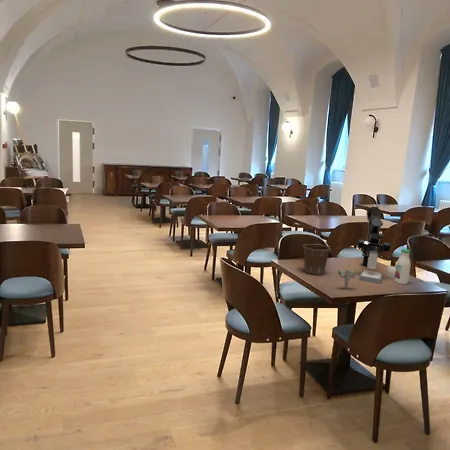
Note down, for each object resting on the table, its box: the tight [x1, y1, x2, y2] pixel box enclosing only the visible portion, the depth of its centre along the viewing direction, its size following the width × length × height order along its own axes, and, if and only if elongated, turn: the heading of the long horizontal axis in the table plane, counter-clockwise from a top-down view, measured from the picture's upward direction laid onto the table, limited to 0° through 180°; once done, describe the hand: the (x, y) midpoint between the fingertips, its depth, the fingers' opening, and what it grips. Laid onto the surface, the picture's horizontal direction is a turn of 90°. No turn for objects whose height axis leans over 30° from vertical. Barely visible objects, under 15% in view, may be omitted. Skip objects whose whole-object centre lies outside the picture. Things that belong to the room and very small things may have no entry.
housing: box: [366, 250, 379, 270], centre depth 262 cm, size 6×4×10 cm
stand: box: [358, 269, 384, 285], centre depth 264 cm, size 16×12×3 cm
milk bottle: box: [393, 248, 411, 285], centre depth 259 cm, size 8×8×20 cm
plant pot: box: [302, 243, 331, 276], centre depth 268 cm, size 16×16×16 cm
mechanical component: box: [337, 270, 358, 290], centre depth 240 cm, size 3×10×10 cm, turn 95°
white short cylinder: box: [385, 265, 396, 279], centre depth 271 cm, size 6×6×6 cm
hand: (373, 257), depth 261 cm, fingers closed on housing, 4 cm apart
